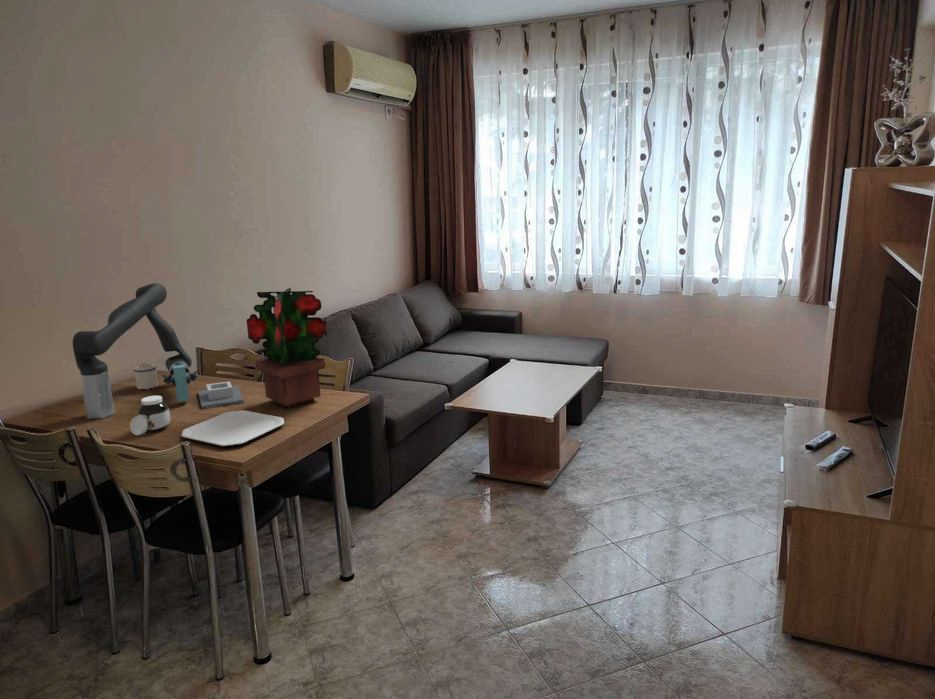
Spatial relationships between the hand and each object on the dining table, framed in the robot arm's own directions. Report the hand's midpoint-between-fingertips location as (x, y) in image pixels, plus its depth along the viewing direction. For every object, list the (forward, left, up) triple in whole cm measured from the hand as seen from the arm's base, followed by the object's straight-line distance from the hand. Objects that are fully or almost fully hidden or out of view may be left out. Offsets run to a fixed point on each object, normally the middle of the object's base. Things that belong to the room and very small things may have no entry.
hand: (181, 382), depth 267 cm
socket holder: (+9, -12, -10) cm, 17 cm away
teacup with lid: (+27, +28, -10) cm, 40 cm away
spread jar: (-27, 0, -10) cm, 29 cm away
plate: (-29, -31, -10) cm, 44 cm away
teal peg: (+2, +1, -8) cm, 8 cm away
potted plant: (+3, -44, -10) cm, 45 cm away
